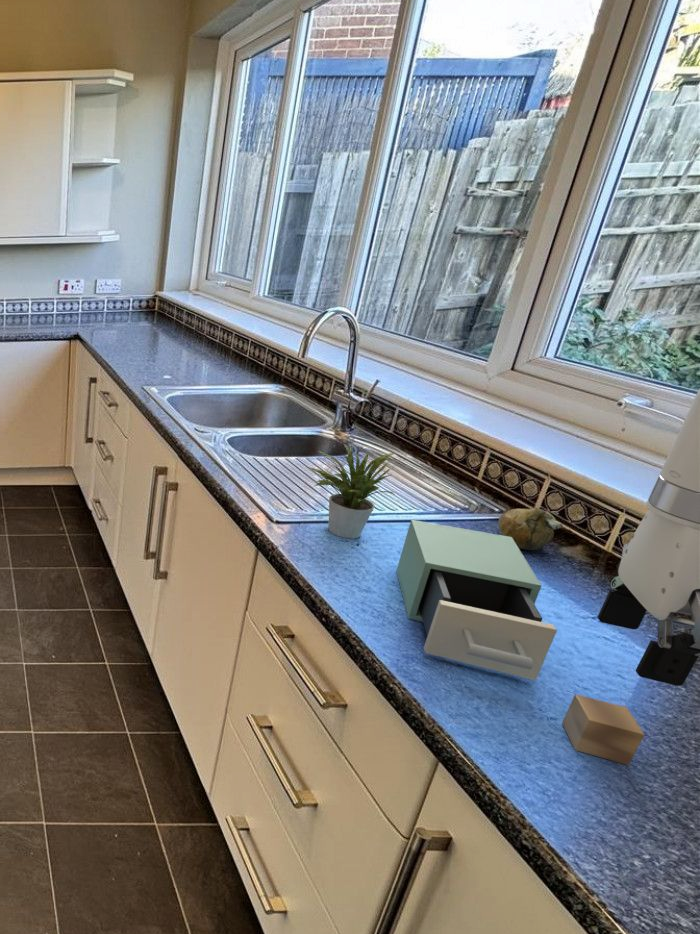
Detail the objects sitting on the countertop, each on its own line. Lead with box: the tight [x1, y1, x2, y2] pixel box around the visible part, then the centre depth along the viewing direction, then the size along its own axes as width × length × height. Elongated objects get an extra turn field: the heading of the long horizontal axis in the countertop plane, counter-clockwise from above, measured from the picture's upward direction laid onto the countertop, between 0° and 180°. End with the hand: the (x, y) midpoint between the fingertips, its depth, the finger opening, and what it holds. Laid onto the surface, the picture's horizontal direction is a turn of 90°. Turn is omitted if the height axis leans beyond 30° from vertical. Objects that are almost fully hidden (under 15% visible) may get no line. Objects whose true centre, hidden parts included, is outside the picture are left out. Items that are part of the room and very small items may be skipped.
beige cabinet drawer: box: [419, 569, 558, 682], centre depth 82 cm, size 18×11×8 cm, turn 152°
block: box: [561, 693, 645, 766], centre depth 68 cm, size 4×4×4 cm
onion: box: [497, 506, 563, 551], centre depth 108 cm, size 8×8×8 cm
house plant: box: [308, 444, 396, 540], centre depth 113 cm, size 14×14×16 cm
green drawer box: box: [396, 519, 543, 623], centre depth 92 cm, size 15×13×10 cm
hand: (635, 650), depth 65 cm, fingers open, 9 cm apart
